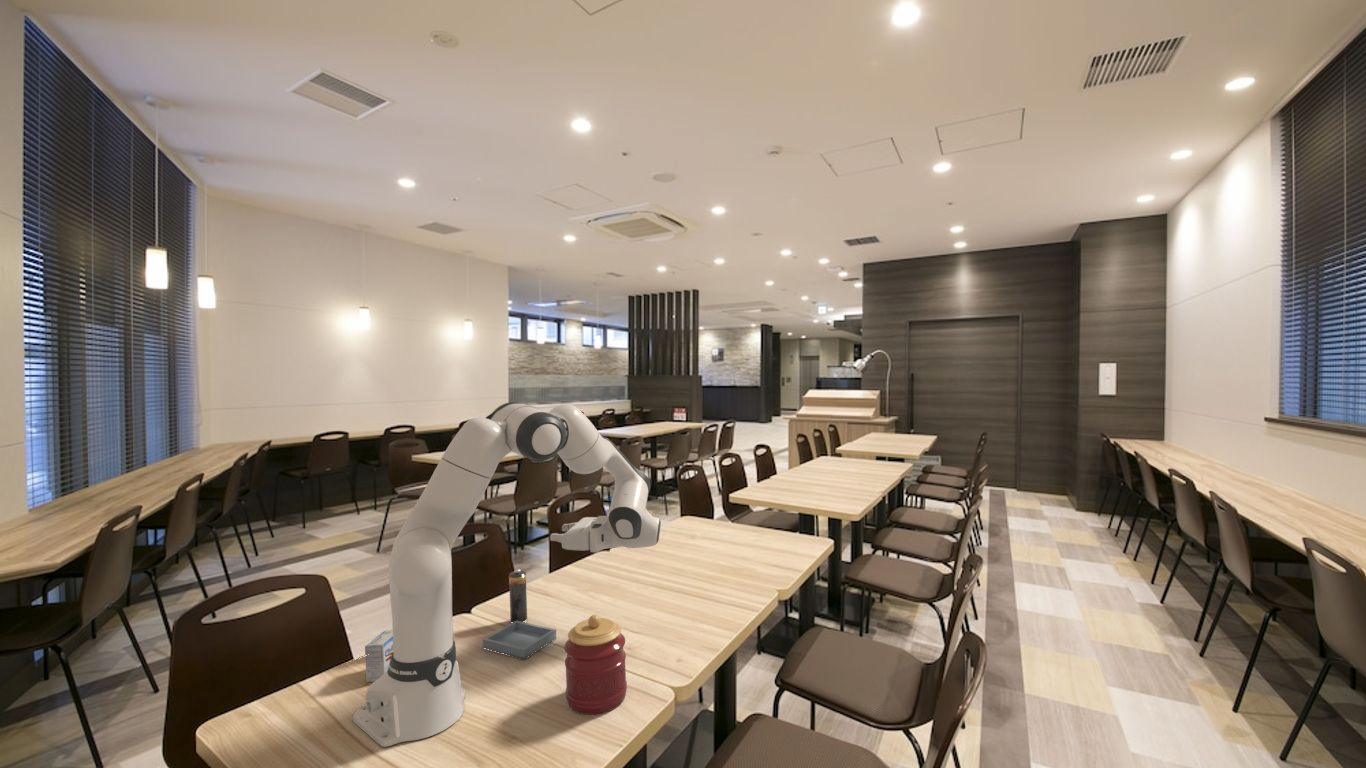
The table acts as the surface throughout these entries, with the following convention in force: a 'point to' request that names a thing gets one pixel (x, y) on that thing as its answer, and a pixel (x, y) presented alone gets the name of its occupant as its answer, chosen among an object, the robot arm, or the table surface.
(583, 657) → the canister
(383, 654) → the medicine box
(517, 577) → the battery cell
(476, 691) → the table surface
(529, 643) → the tray
